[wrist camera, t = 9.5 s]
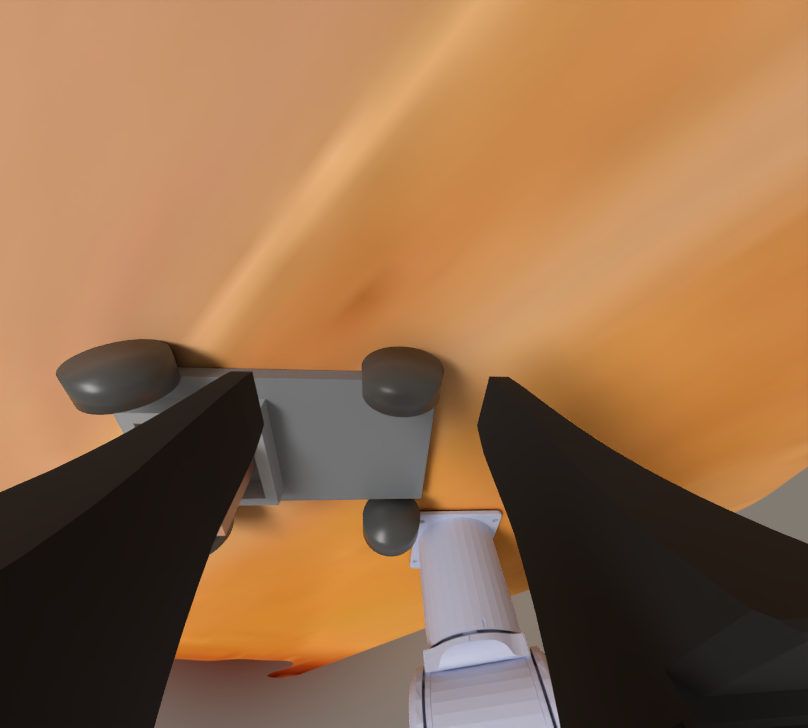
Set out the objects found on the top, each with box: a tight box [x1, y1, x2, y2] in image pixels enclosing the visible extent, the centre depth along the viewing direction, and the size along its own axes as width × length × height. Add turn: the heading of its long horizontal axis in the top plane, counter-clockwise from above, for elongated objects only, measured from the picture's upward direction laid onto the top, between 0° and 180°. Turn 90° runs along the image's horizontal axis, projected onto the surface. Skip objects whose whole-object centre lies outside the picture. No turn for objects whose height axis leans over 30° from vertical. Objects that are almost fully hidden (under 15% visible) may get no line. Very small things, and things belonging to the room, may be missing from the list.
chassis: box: [56, 339, 443, 556], centre depth 21 cm, size 16×20×5 cm
